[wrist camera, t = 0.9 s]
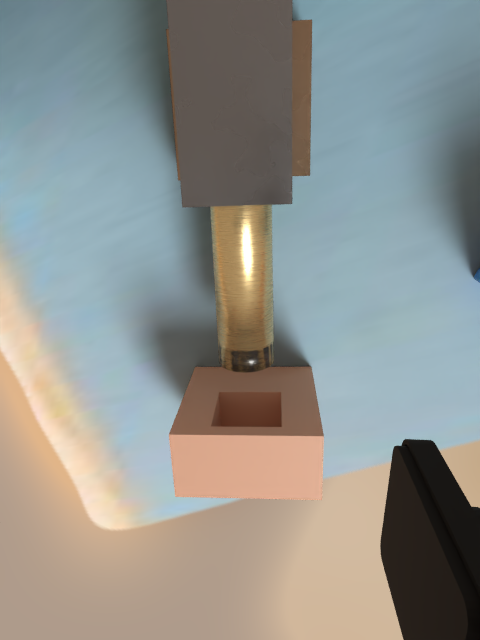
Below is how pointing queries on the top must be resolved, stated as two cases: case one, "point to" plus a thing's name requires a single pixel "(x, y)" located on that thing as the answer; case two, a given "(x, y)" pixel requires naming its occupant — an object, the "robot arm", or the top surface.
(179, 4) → the grey block
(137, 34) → the top surface
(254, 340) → the tube
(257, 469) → the socket
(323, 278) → the top surface
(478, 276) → the ink box
